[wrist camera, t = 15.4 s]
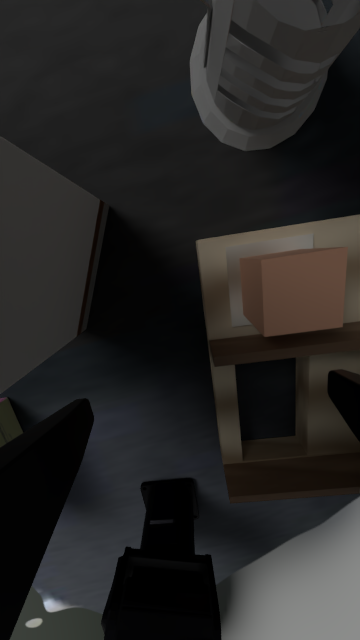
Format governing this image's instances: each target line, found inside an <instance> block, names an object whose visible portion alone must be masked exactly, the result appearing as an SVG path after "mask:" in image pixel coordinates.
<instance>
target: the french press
mask: <svg viewBox="0 0 360 640" xmlns="http://www.w3.org/2000/svg"><path fill="white" fill-rule="evenodd" d="M201 1H202V2H204V3H205V5H206V6H207V9H208V10H207V14H206V15H205V17H204V18H203V20H202V22H201V23H200V25H199V27H198V31H197V35H196V39H195V43H194V46H193V50H192V54H191V58H190V74H191V92H192V97H193V99H194V102H195V104H196V107H197V109H198V112H199V114H200V117H201V119H202V122H203V124H204V125H205V126H206V127H207V128H208V129H209V130H210V131H211V132H212V133H213V134H214V135H215V136H216V137H217V138H218V139H219V140H220V141H221V142H222V143H224V144H227V145H230V146H233V147H235V148H238V149H241V150H243V151H251V150H260V149H269V148H272V147H273V146H275V145H277V144H278V143H280V142H282V141H284V140H285V139H287V138H289V137H290V136H292V135H294V134H295V133H296V132H297V130H298V129H299V128H300V127H301V126H302V124H303V123H304V122H305V121H306V120H307V118H308V117H309V116H310V115H311V113H312V112H313V111H314V110H315V107H316V105H317V102H318V100H319V97H320V95H321V92H322V90H323V87H324V85H325V82H326V80H327V74H328V69H329V67H330V66H331V65H332V64H333V62H334V61H335V60H336V58H337V57H338V56H339V54H340V53H341V52H342V51H343V49H344V48H345V47H346V45H347V44H348V43H349V41H350V40H351V39H352V38H353V36H354V35H355V34H356V32H357V31H358V30H359V28H360V0H332V3H333V6H332V8H331V10H330V11H329V13H328V14H327V12H326V10H325V7H324V5H323V2H322V0H201Z"/></svg>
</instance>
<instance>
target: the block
mask: <svg viewBox="0 0 360 640" xmlns="http://www.w3.org/2000/svg"><path fill="white" fill-rule="evenodd" d="M347 254H348V247H333V248H312V249H297V250H291V251H284V252H277V253H271V254H264V255H258V256H251V257H245V258H239V260H240V274H241V289H242V303H243V315H244V316H245V317H246V318H247V319H248V320H249V321H250V322H251V323H252V324H253V326H254V327H255V328H256V329H257V330H258V331H259V332H260V333H261V334H262V335H263V336H264V337H269V336H277V335H285V334H292V333H300V332H308V331H316V330H324V329H332V328H339V327H343V314H344V299H345V284H346V269H347Z"/></svg>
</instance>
